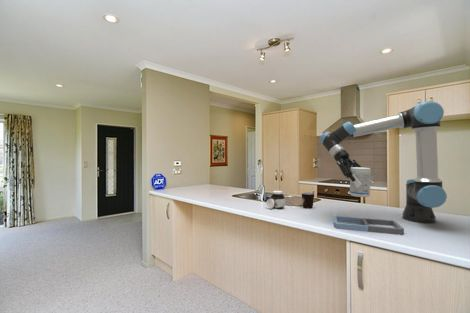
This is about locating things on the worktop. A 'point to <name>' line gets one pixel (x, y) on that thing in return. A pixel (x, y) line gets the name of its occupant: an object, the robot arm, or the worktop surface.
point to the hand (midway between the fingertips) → (365, 185)
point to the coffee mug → (307, 200)
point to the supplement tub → (364, 179)
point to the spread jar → (276, 200)
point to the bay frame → (366, 227)
